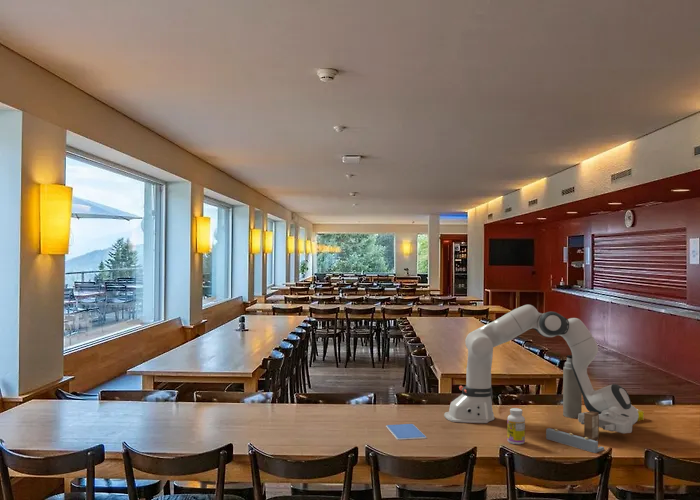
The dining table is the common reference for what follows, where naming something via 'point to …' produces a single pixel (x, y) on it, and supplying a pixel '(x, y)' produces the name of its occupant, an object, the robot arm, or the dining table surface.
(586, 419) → the brown rectangular box
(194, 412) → the dining table surface
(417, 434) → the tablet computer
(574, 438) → the rail
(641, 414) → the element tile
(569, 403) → the thermos bottle
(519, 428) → the supplement bottle
